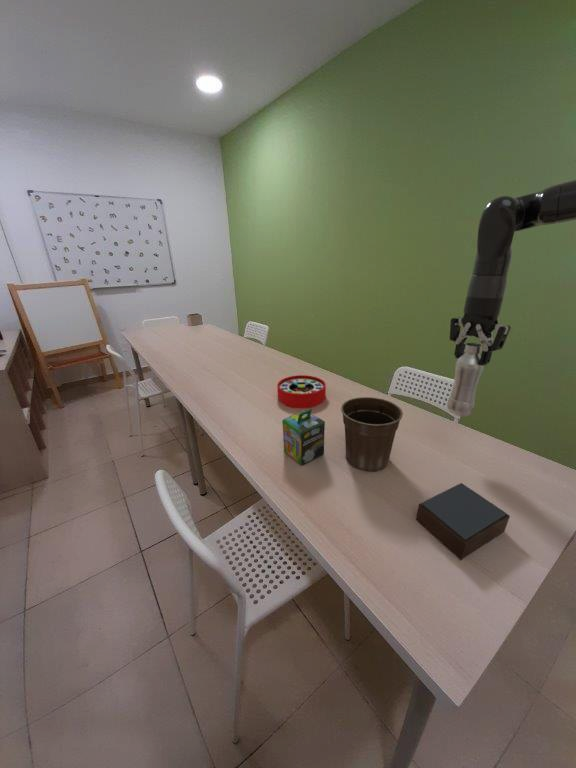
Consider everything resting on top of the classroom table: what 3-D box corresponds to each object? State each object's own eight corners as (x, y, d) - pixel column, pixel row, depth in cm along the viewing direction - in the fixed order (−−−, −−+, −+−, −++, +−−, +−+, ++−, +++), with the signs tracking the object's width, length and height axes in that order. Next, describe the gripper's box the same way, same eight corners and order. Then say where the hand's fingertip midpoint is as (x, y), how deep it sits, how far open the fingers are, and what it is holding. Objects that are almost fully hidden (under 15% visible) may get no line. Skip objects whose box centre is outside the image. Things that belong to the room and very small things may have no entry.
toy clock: (301, 399, 111) (267, 384, 124) (302, 413, 113) (268, 397, 127) (335, 383, 123) (301, 371, 137) (335, 396, 126) (301, 383, 139)
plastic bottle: (452, 405, 89) (466, 339, 81) (477, 414, 83) (493, 344, 76) (441, 412, 85) (453, 344, 77) (465, 422, 80) (481, 349, 72)
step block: (457, 497, 73) (461, 481, 71) (504, 531, 64) (510, 514, 62) (415, 519, 67) (418, 502, 65) (460, 560, 58) (466, 542, 56)
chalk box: (305, 440, 97) (305, 399, 91) (325, 454, 90) (326, 410, 84) (282, 451, 92) (280, 408, 86) (301, 466, 85) (300, 421, 79)
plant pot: (341, 439, 97) (343, 394, 90) (394, 445, 93) (400, 398, 87) (335, 471, 83) (338, 421, 76) (397, 480, 79) (405, 428, 72)
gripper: (527, 296, 67) (508, 366, 74) (467, 290, 79) (455, 352, 86) (506, 299, 64) (488, 372, 71) (447, 293, 76) (436, 356, 83)
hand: (470, 361), depth 78 cm, fingers closed on plastic bottle, 6 cm apart
